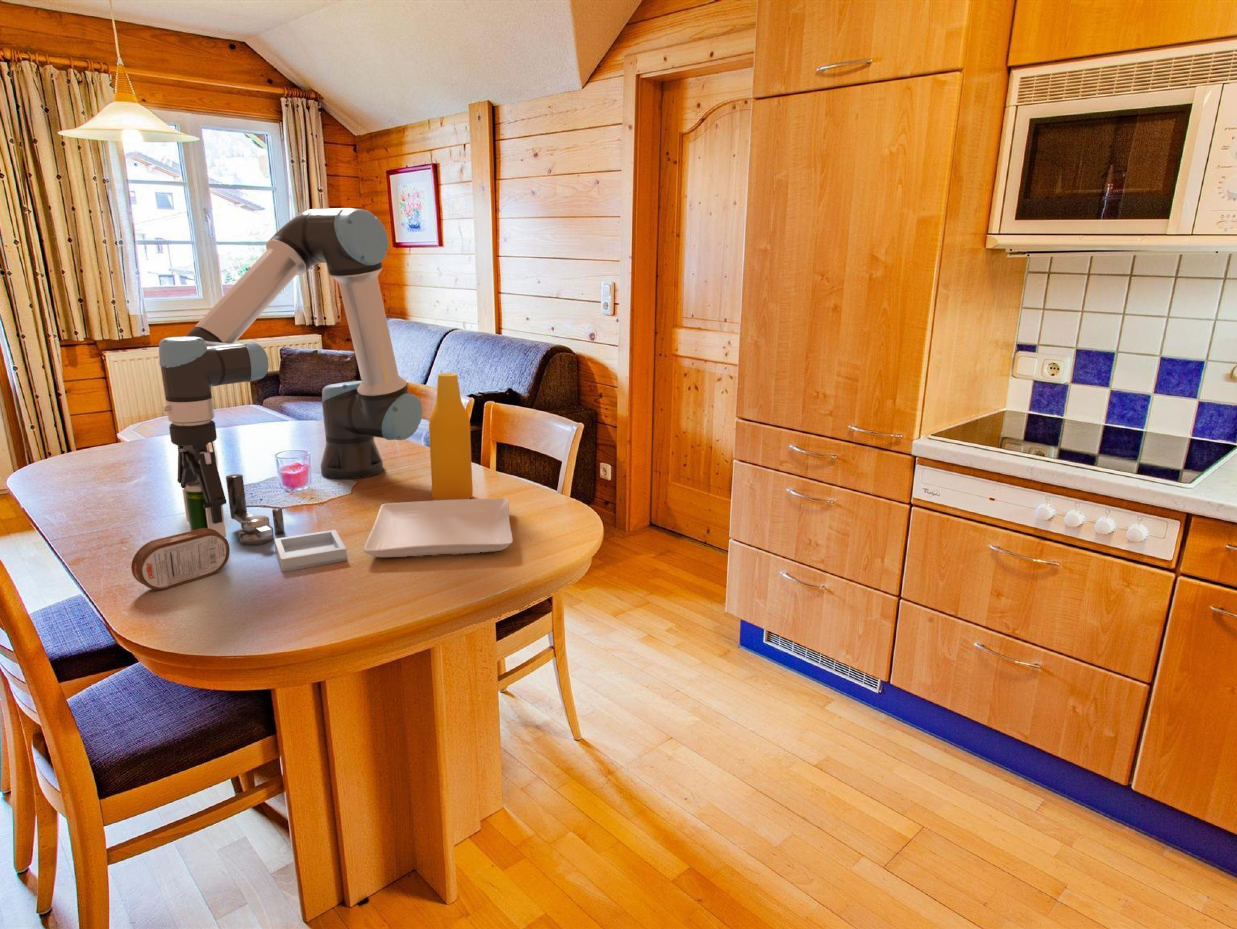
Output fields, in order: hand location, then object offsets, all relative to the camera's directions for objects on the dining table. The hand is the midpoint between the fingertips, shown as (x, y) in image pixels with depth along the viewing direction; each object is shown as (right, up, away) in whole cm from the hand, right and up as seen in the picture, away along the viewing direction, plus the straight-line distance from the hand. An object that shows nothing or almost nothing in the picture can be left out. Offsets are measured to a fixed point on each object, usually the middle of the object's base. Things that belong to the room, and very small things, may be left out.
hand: (206, 528), depth 145 cm
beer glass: (-12, +3, +22) cm, 25 cm away
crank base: (+5, -3, 0) cm, 6 cm away
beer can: (0, -3, +1) cm, 3 cm away
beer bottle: (+41, +4, +29) cm, 51 cm away
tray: (+22, -5, -5) cm, 23 cm away
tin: (+6, -8, -16) cm, 19 cm away
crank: (+7, 0, +3) cm, 8 cm away
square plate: (+44, -3, +7) cm, 45 cm away
